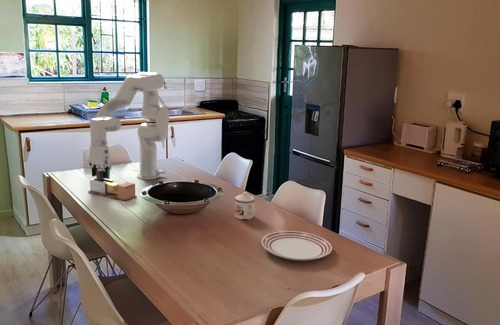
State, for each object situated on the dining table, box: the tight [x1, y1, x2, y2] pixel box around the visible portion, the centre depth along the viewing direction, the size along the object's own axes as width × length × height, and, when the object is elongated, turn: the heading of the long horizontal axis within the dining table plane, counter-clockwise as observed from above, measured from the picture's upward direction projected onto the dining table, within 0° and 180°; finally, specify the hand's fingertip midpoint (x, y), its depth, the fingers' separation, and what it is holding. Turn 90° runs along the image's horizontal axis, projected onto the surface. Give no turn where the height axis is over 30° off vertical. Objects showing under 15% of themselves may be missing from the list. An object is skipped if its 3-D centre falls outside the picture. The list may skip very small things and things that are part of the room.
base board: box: [87, 190, 138, 203], centre depth 239 cm, size 25×8×1 cm, turn 62°
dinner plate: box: [261, 230, 333, 261], centre depth 184 cm, size 27×27×3 cm
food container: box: [96, 164, 112, 180], centre depth 258 cm, size 12×6×10 cm, turn 179°
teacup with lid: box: [234, 191, 256, 220], centre depth 215 cm, size 12×9×12 cm
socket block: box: [118, 181, 136, 200], centre depth 234 cm, size 5×7×6 cm
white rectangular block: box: [89, 177, 114, 194], centre depth 241 cm, size 10×6×6 cm, turn 62°
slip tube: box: [95, 169, 120, 194], centre depth 239 cm, size 14×4×10 cm, turn 62°
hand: (100, 176), depth 241 cm, fingers open, 6 cm apart
